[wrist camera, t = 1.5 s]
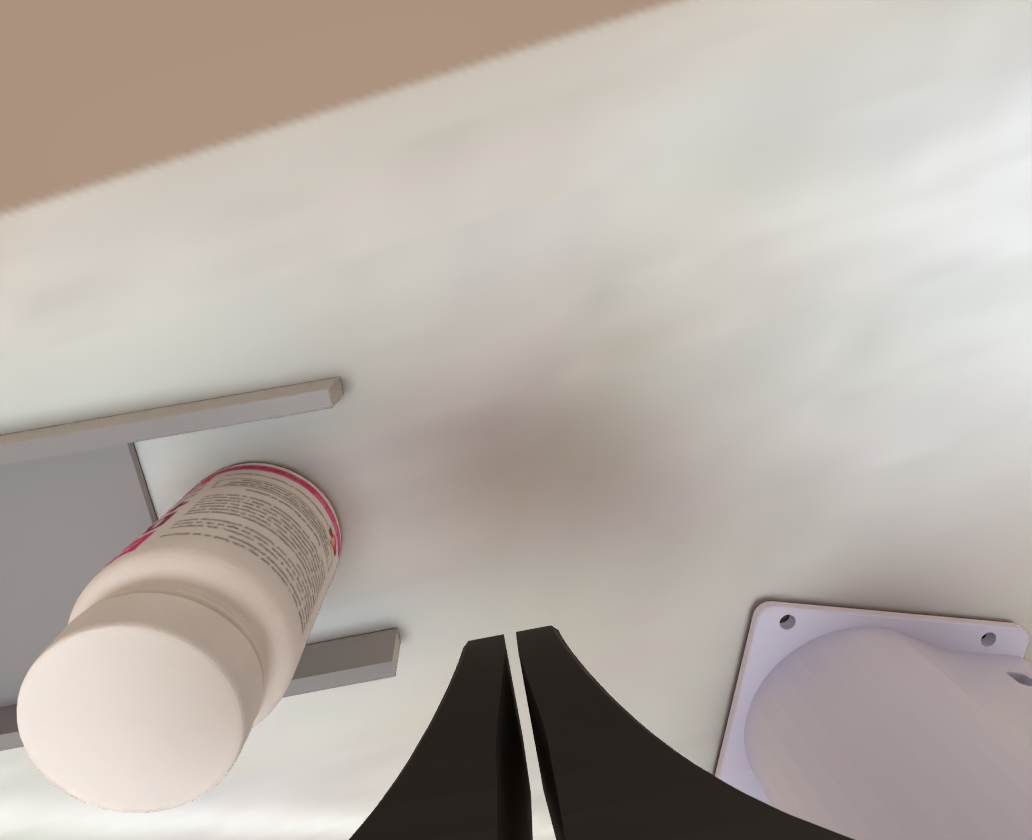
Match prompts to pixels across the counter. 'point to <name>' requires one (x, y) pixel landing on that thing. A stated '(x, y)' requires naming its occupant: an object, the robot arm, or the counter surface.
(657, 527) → the counter surface
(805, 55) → the counter surface
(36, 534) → the tray
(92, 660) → the pill bottle
